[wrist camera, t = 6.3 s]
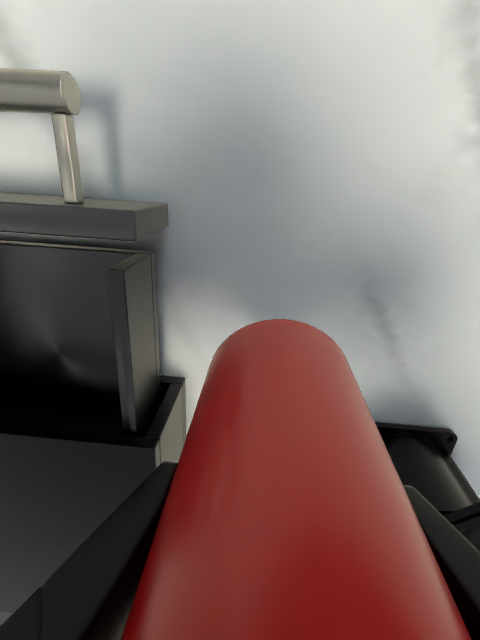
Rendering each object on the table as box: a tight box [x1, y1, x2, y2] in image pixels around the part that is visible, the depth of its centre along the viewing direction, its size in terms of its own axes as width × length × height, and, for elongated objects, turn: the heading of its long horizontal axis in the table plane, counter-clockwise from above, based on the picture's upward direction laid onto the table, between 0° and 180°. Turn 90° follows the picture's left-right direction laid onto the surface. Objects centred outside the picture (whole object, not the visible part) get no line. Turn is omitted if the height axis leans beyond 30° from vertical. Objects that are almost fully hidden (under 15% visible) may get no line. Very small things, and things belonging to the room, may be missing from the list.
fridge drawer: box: [0, 68, 169, 437], centre depth 17 cm, size 20×13×5 cm, turn 177°
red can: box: [121, 319, 472, 640], centre depth 7 cm, size 5×5×11 cm
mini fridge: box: [0, 376, 186, 613], centre depth 23 cm, size 17×15×7 cm
